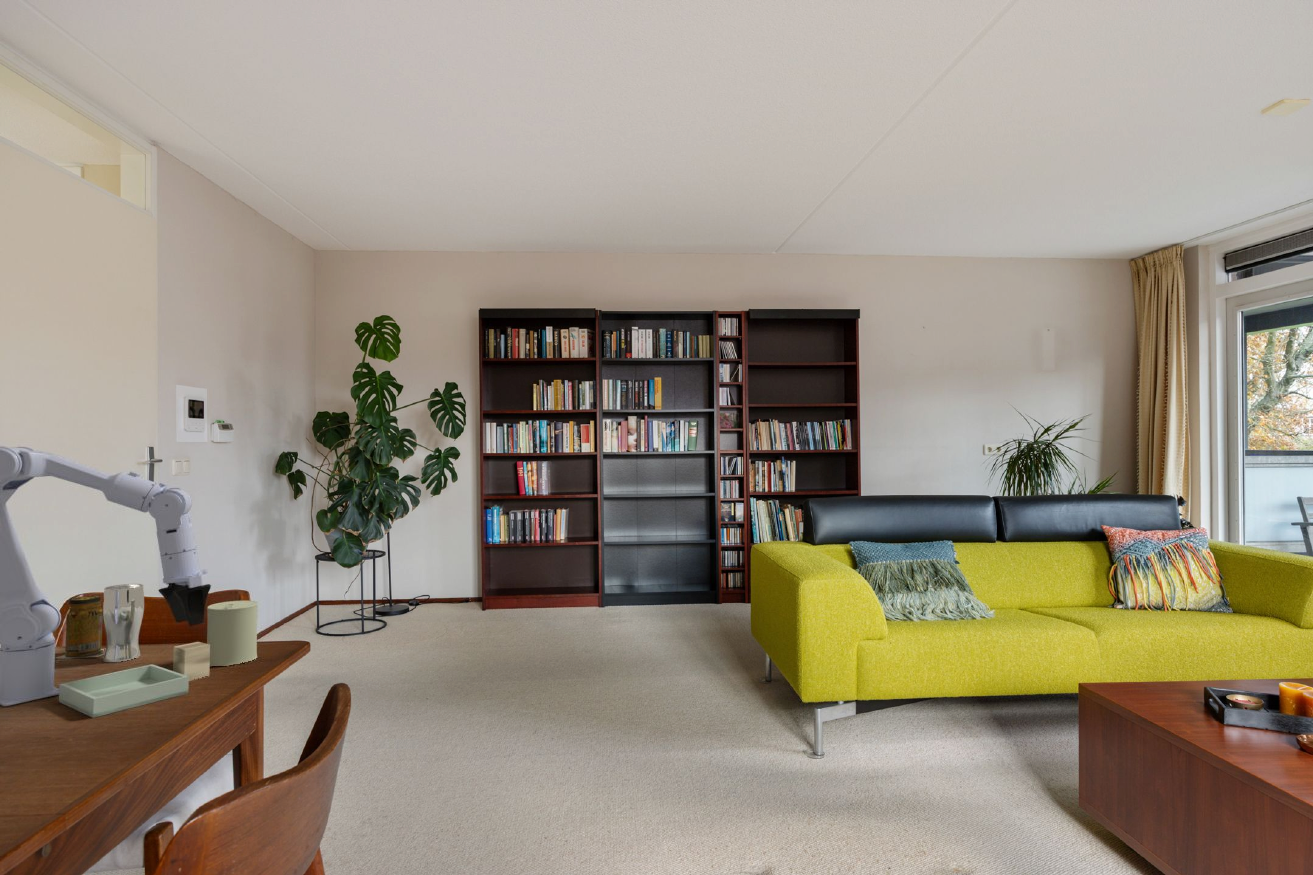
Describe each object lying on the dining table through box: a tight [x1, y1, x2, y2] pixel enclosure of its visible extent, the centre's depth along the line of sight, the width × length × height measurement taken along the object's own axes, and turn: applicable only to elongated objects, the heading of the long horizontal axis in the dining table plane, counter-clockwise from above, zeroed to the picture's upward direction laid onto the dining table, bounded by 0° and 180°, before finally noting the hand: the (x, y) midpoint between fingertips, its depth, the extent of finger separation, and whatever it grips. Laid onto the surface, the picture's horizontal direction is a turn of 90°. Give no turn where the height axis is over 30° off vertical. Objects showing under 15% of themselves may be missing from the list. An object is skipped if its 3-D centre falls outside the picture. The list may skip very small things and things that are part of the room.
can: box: [206, 600, 259, 667], centre depth 146 cm, size 9×9×12 cm
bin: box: [58, 664, 190, 718], centre depth 123 cm, size 14×14×3 cm
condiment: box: [55, 595, 106, 660], centre depth 150 cm, size 7×8×12 cm
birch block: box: [172, 641, 211, 682], centre depth 134 cm, size 4×4×6 cm
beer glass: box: [101, 583, 145, 663], centre depth 147 cm, size 7×7×15 cm
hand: (189, 622), depth 132 cm, fingers open, 7 cm apart
